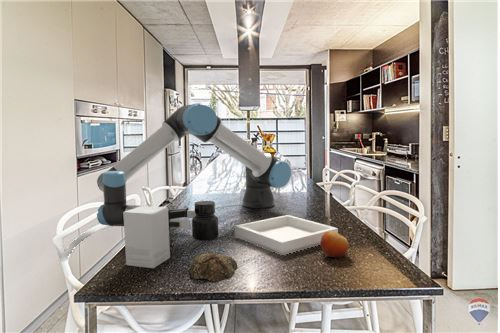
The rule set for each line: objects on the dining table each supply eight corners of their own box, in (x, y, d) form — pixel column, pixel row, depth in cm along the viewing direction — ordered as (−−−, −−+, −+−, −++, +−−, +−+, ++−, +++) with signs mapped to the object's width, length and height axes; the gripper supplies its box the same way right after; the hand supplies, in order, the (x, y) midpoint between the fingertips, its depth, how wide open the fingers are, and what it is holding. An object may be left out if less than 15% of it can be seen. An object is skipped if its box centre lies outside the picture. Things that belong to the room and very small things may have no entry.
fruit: (310, 247, 113) (324, 224, 113) (333, 259, 114) (346, 236, 114) (318, 256, 105) (332, 231, 105) (341, 269, 106) (356, 245, 106)
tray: (287, 225, 143) (287, 214, 143) (337, 240, 124) (337, 228, 124) (235, 237, 129) (234, 225, 129) (282, 256, 110) (282, 242, 109)
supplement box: (171, 257, 110) (169, 206, 108) (153, 269, 101) (151, 213, 100) (144, 254, 113) (142, 204, 111) (124, 265, 104) (122, 211, 102)
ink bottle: (220, 233, 134) (219, 199, 132) (219, 241, 125) (218, 205, 124) (192, 234, 133) (191, 200, 132) (189, 241, 124) (188, 205, 123)
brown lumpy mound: (195, 263, 106) (194, 245, 105) (239, 264, 105) (239, 246, 104) (182, 282, 93) (182, 262, 93) (232, 283, 92) (232, 263, 92)
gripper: (157, 218, 146) (210, 221, 141) (121, 237, 122) (182, 241, 117) (157, 199, 145) (209, 201, 140) (119, 214, 121) (182, 217, 116)
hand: (197, 219), depth 128 cm, fingers open, 13 cm apart
